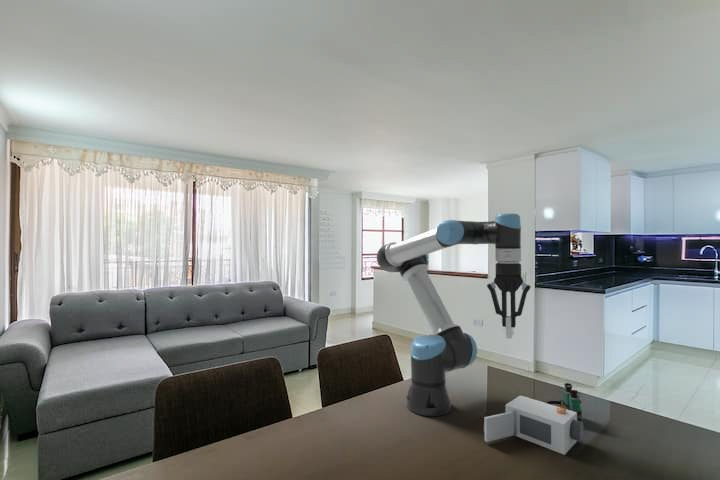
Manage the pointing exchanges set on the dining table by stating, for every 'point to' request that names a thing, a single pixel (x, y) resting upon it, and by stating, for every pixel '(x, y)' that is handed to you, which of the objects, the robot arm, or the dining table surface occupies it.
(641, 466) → the dining table surface
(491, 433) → the side door
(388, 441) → the dining table surface
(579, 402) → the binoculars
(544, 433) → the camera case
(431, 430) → the dining table surface
